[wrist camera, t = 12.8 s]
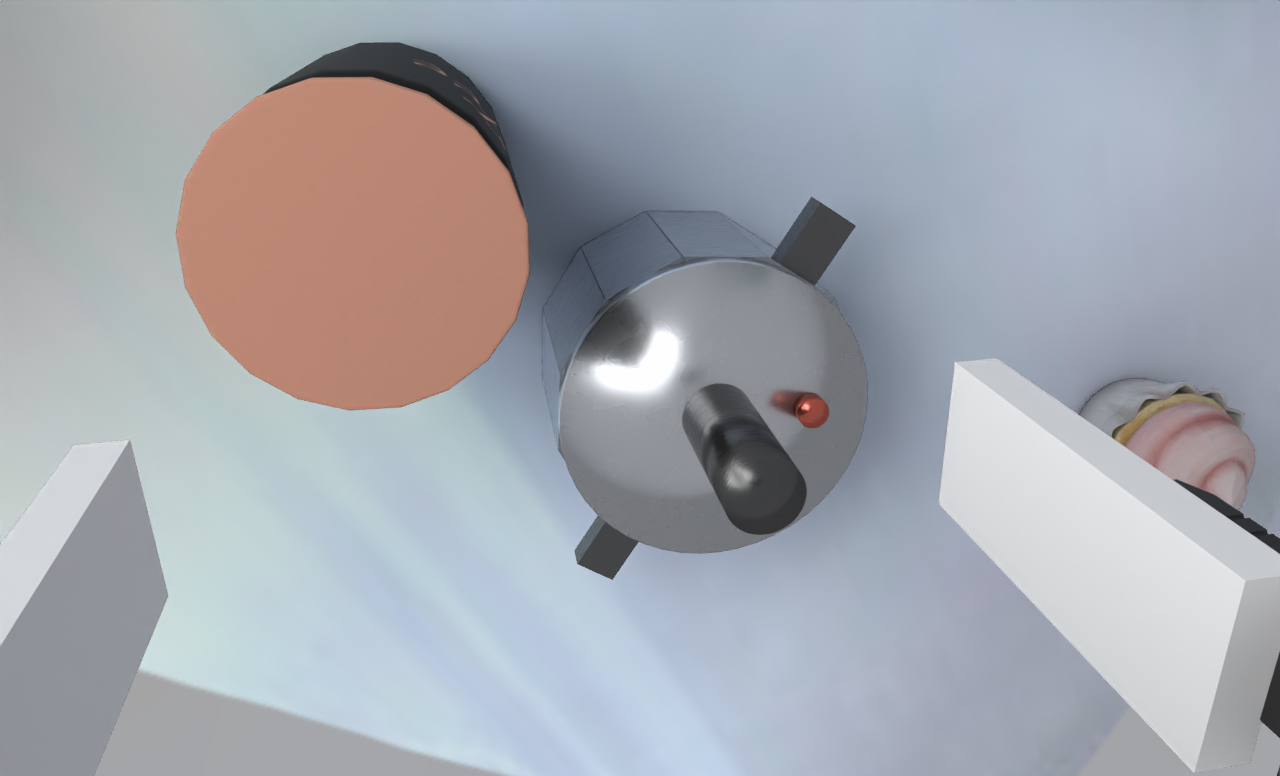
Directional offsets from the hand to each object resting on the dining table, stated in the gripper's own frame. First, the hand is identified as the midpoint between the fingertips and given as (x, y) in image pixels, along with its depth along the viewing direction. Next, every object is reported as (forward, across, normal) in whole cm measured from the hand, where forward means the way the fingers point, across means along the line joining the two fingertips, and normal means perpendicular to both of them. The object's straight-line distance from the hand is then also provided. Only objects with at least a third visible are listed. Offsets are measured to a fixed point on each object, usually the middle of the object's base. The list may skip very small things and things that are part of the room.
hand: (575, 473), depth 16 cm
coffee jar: (+35, -4, -1) cm, 35 cm away
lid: (+27, +9, -11) cm, 31 cm away
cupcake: (+34, +37, -19) cm, 53 cm away
